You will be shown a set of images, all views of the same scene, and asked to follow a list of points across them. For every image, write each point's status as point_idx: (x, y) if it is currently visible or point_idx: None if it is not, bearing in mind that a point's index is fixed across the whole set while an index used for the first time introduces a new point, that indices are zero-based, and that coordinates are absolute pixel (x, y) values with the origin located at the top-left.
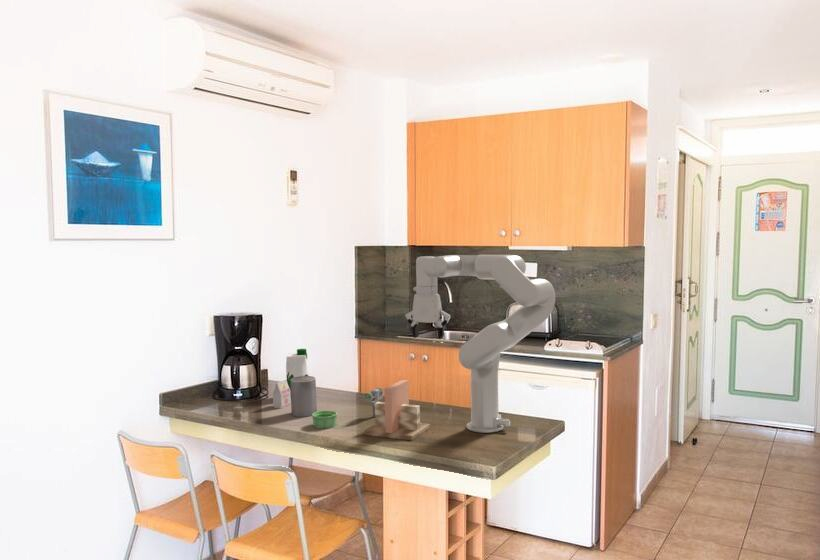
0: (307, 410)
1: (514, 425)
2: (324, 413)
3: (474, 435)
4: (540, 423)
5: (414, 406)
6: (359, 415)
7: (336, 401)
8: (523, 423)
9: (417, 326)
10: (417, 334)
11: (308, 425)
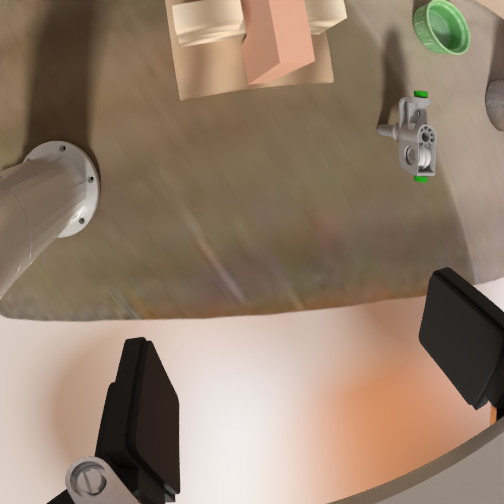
0: (496, 86)
1: None
2: (459, 48)
3: (46, 118)
4: None
5: (185, 9)
6: None
7: (489, 212)
8: None
9: (478, 393)
10: (433, 333)
11: None
